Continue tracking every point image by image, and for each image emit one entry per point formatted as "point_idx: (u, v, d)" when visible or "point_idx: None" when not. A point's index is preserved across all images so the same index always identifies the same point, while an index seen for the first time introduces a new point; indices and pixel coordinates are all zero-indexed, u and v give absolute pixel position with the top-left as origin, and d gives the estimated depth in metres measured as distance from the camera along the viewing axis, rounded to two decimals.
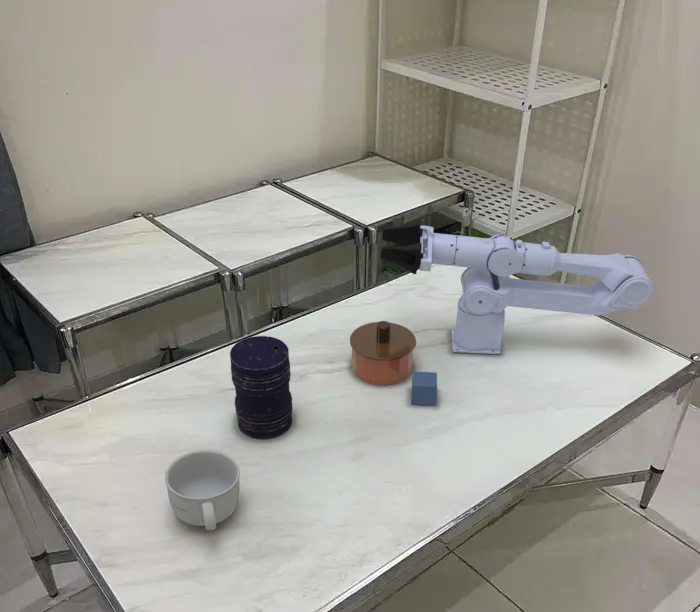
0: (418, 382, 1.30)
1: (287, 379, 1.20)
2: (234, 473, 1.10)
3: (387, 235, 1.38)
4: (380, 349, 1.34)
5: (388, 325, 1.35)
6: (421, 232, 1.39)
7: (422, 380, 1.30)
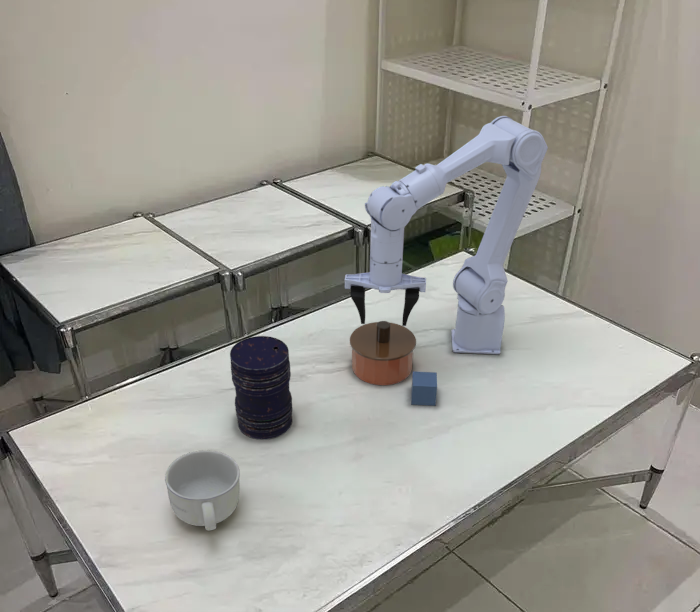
0: (418, 382, 1.30)
1: (288, 379, 1.20)
2: (234, 473, 1.10)
3: None
4: (380, 349, 1.34)
5: (388, 325, 1.35)
6: (360, 288, 1.30)
7: (422, 380, 1.30)
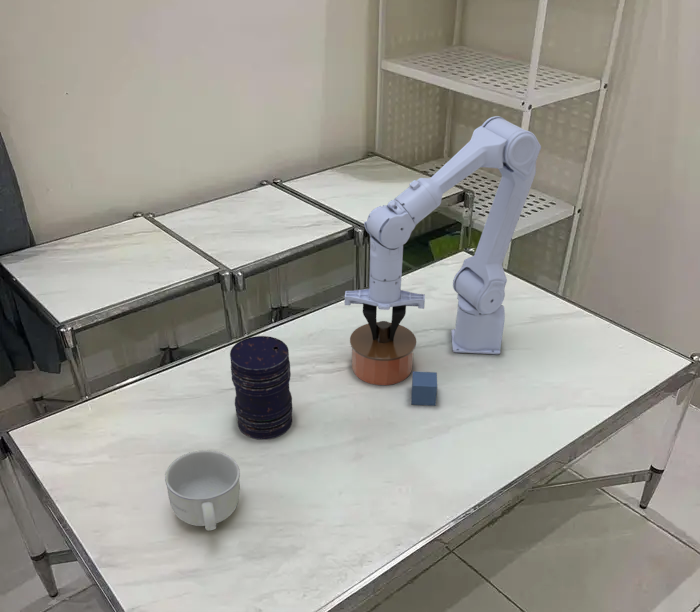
0: (418, 382, 1.30)
1: (288, 379, 1.20)
2: (234, 473, 1.10)
3: (376, 332, 1.36)
4: (380, 349, 1.34)
5: (388, 325, 1.35)
6: None
7: (422, 380, 1.30)
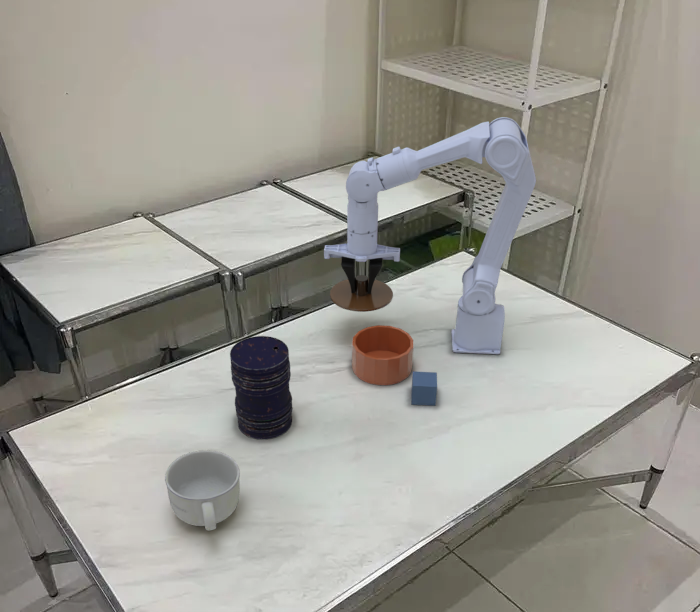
0: (418, 382, 1.30)
1: (288, 379, 1.20)
2: (234, 473, 1.10)
3: None
4: (359, 301, 1.42)
5: (366, 278, 1.42)
6: None
7: (422, 380, 1.30)
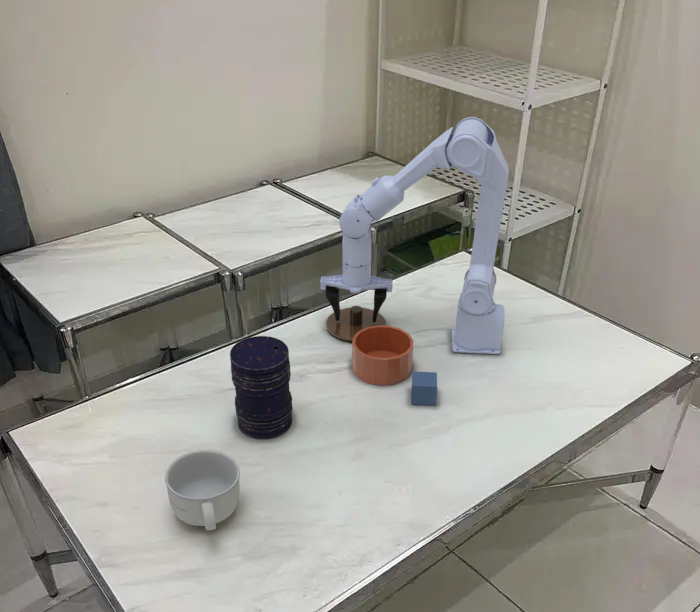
0: (418, 382, 1.30)
1: (288, 379, 1.20)
2: (234, 473, 1.10)
3: (339, 314, 1.51)
4: (353, 330, 1.49)
5: (360, 309, 1.49)
6: (334, 289, 1.46)
7: (422, 380, 1.30)
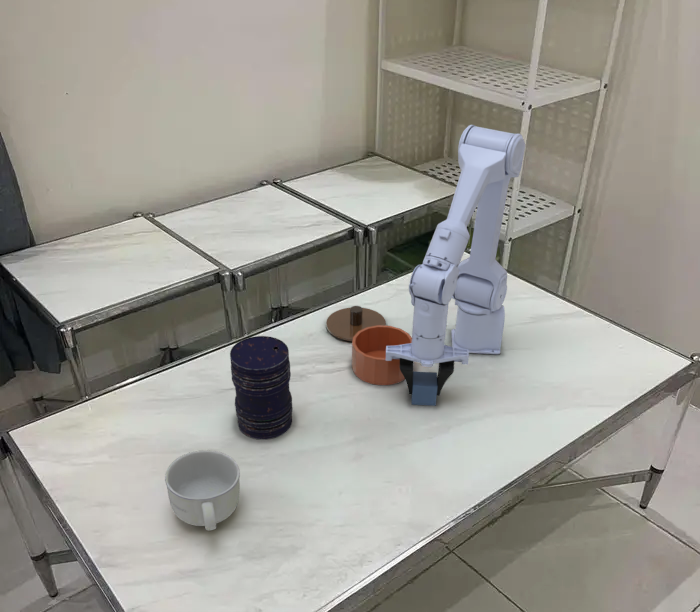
0: (418, 382, 1.30)
1: (288, 379, 1.20)
2: (234, 473, 1.10)
3: None
4: (353, 330, 1.49)
5: (360, 309, 1.49)
6: (401, 360, 1.28)
7: (423, 380, 1.30)
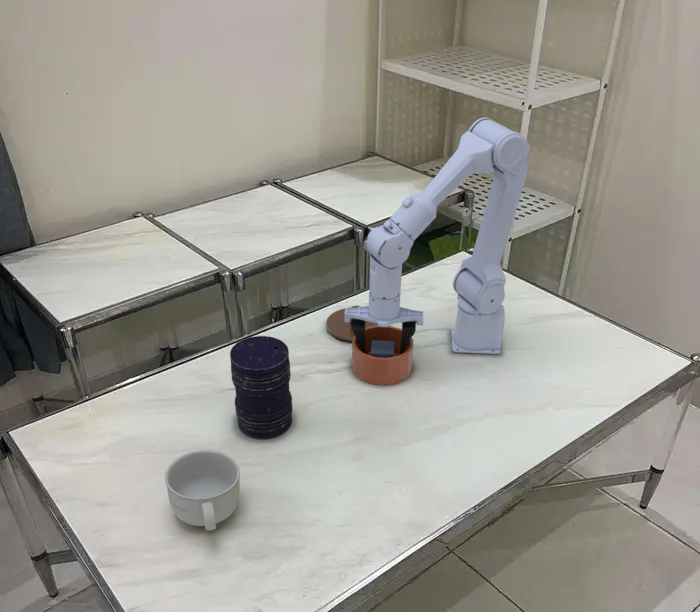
0: (376, 350, 1.37)
1: (288, 379, 1.20)
2: (234, 473, 1.10)
3: (365, 347, 1.39)
4: None
5: None
6: (359, 321, 1.34)
7: (380, 348, 1.38)
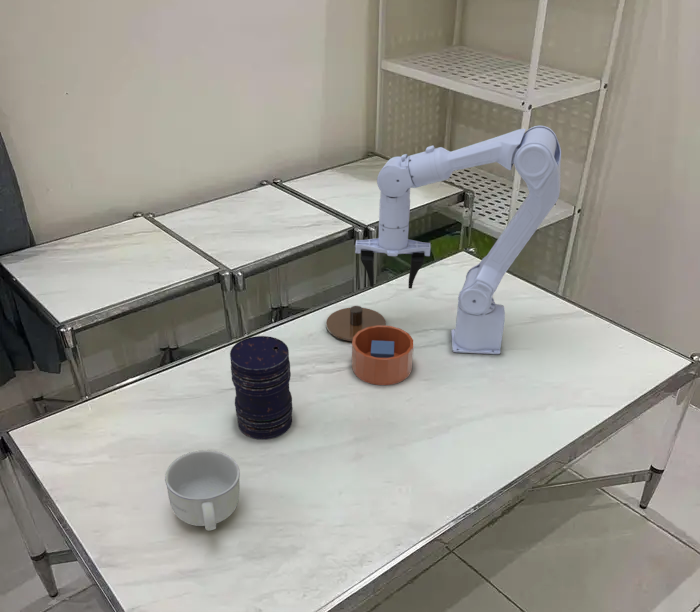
0: (376, 350, 1.37)
1: (288, 379, 1.20)
2: (234, 473, 1.10)
3: None
4: (353, 330, 1.49)
5: (360, 309, 1.49)
6: (369, 252, 1.41)
7: (380, 348, 1.38)
